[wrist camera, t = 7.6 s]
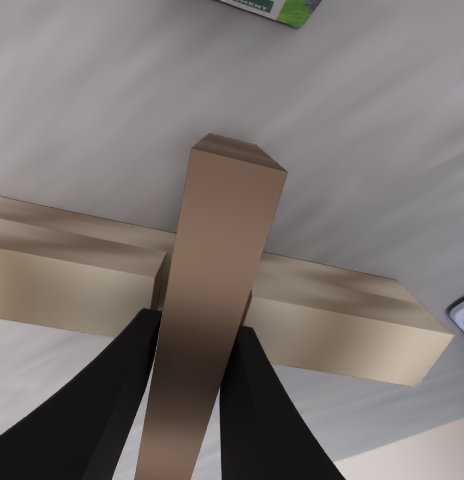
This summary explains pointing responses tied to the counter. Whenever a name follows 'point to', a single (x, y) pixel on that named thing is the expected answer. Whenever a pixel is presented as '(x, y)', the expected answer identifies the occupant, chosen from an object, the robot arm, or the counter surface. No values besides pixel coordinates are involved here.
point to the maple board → (256, 310)
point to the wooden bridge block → (205, 296)
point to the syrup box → (280, 9)
